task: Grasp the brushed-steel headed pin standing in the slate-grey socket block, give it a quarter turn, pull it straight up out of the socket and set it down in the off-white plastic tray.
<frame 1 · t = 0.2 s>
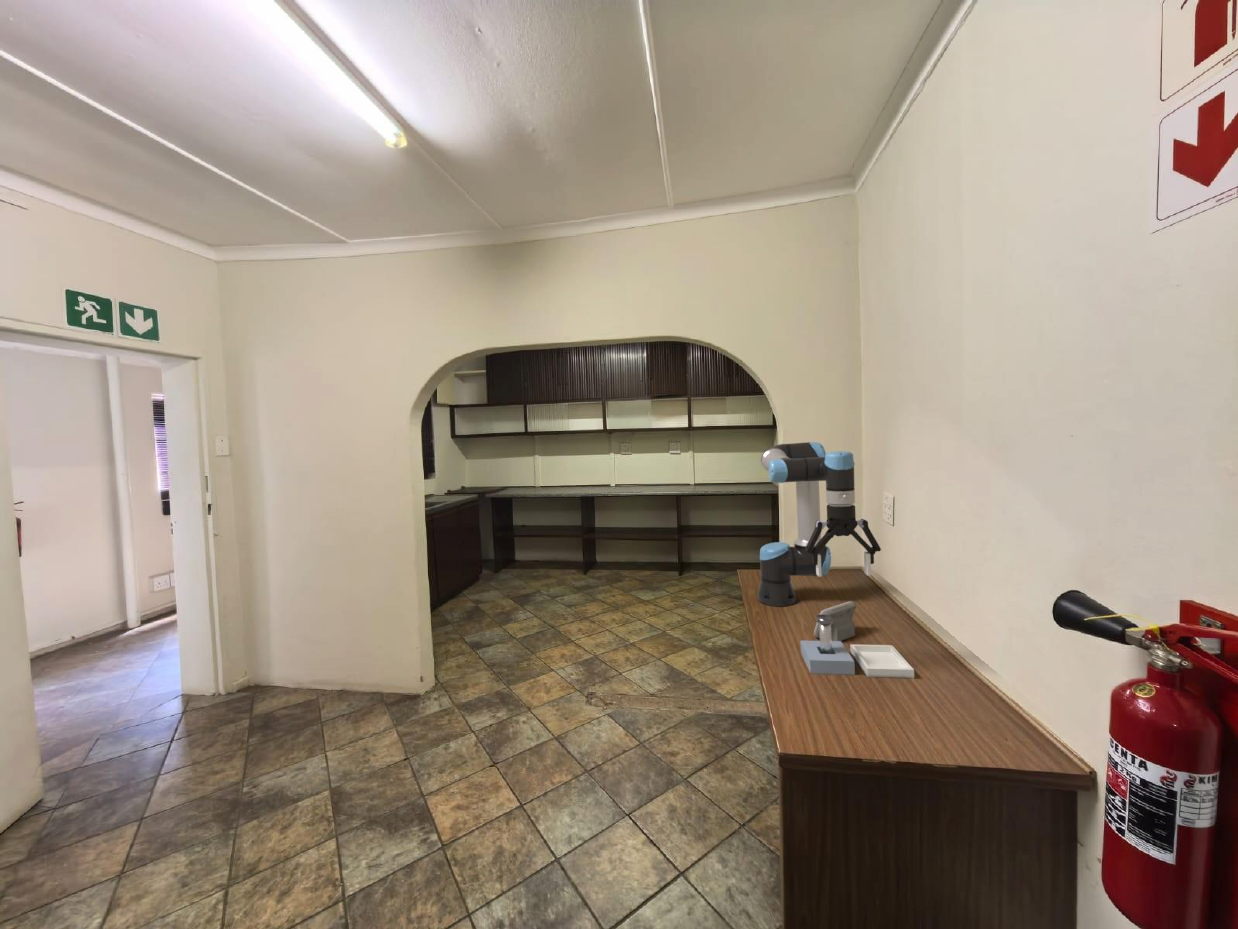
hand: (843, 575, 130), 27 cm above the table, fingers open, 13 cm apart
digital clock: (835, 635, 150), on the table
pin: (825, 640, 132), in the socket block
socket block: (826, 663, 133), on the table
tray: (880, 664, 130), on the table
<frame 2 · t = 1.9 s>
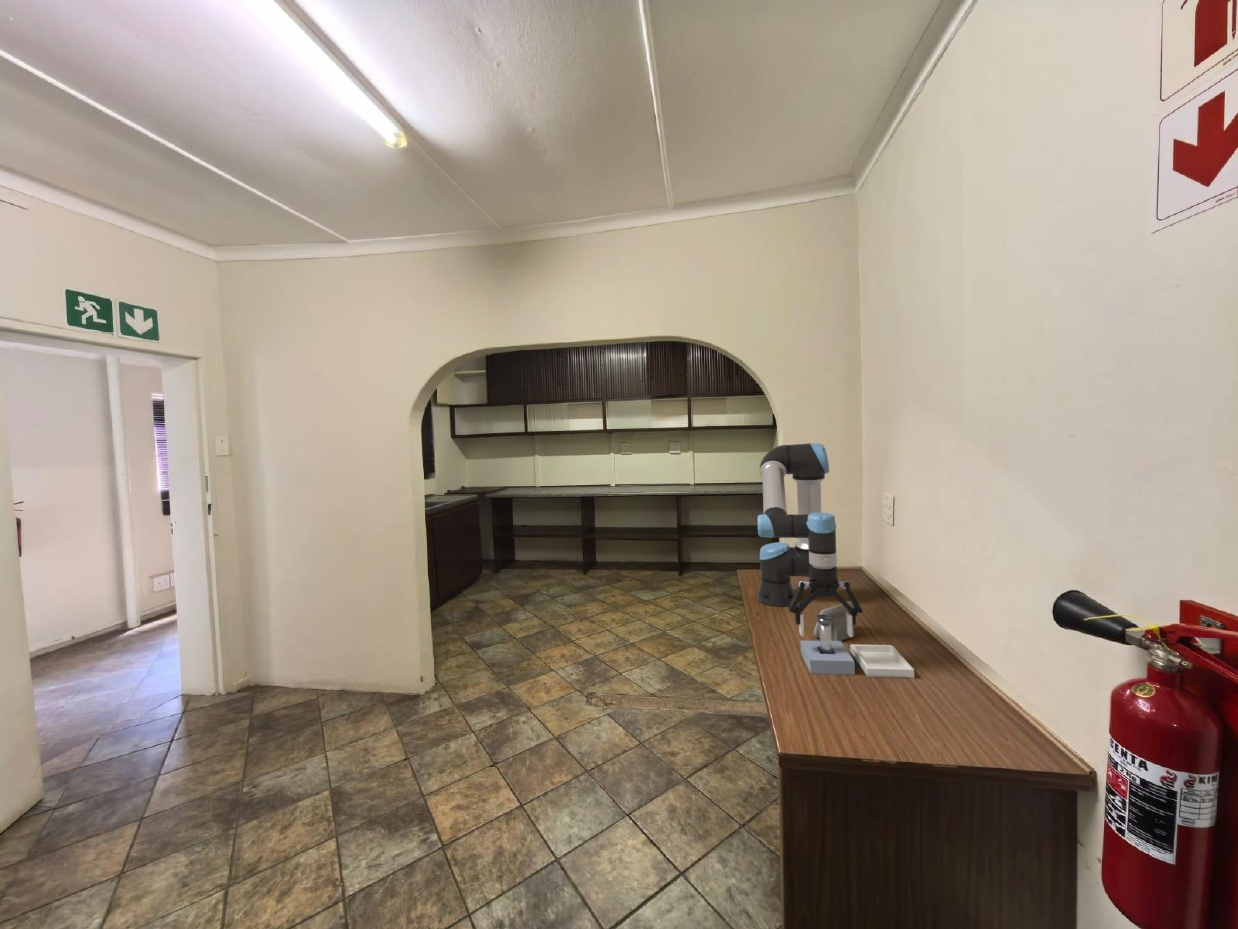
hand: (825, 634, 132), 9 cm above the table, fingers open, 13 cm apart
nothing on the table moved.
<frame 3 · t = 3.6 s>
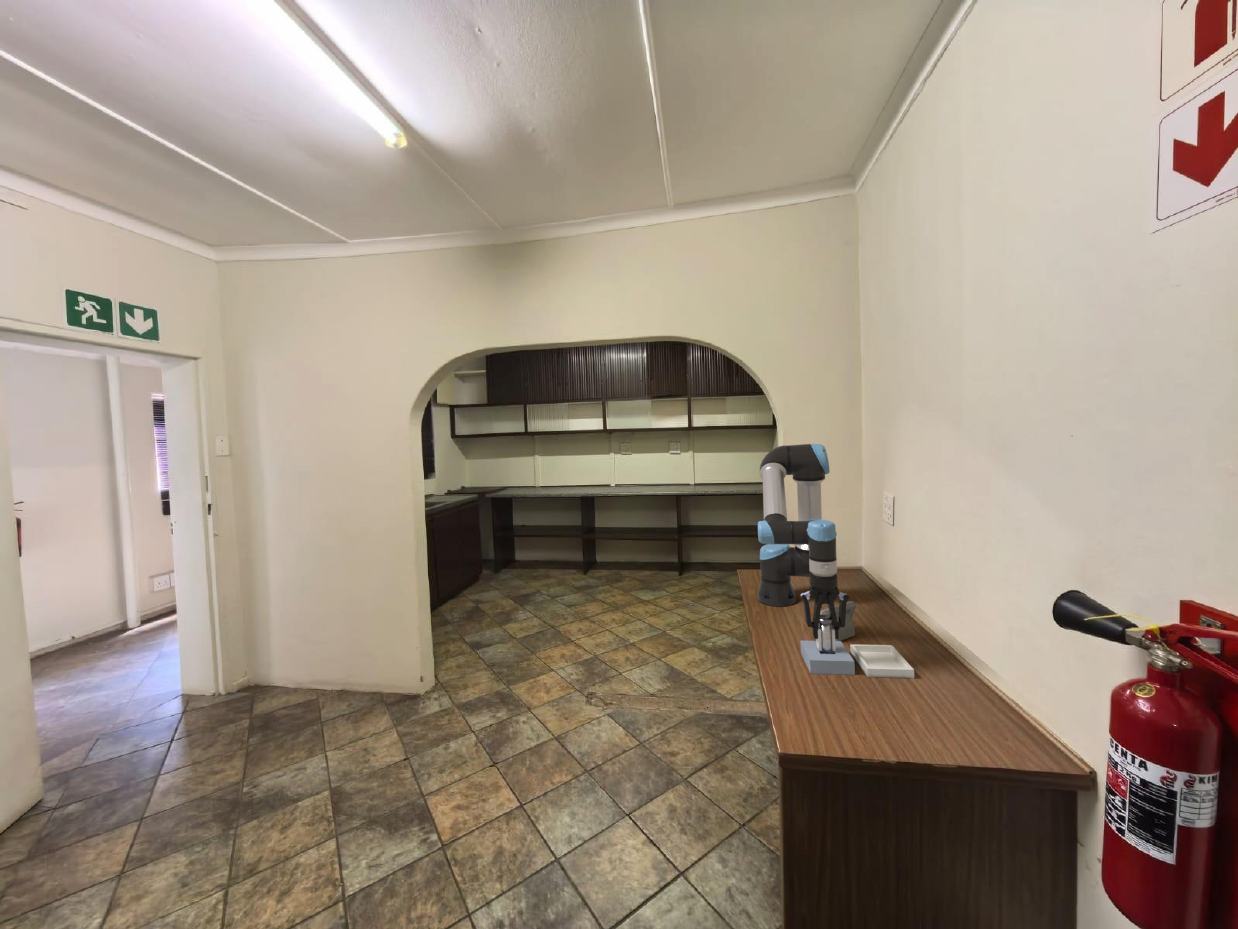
hand: (825, 648, 132), 5 cm above the table, fingers closed on pin, 3 cm apart
pin: (825, 640, 132), in the socket block, touching gripper
everything else where it was.
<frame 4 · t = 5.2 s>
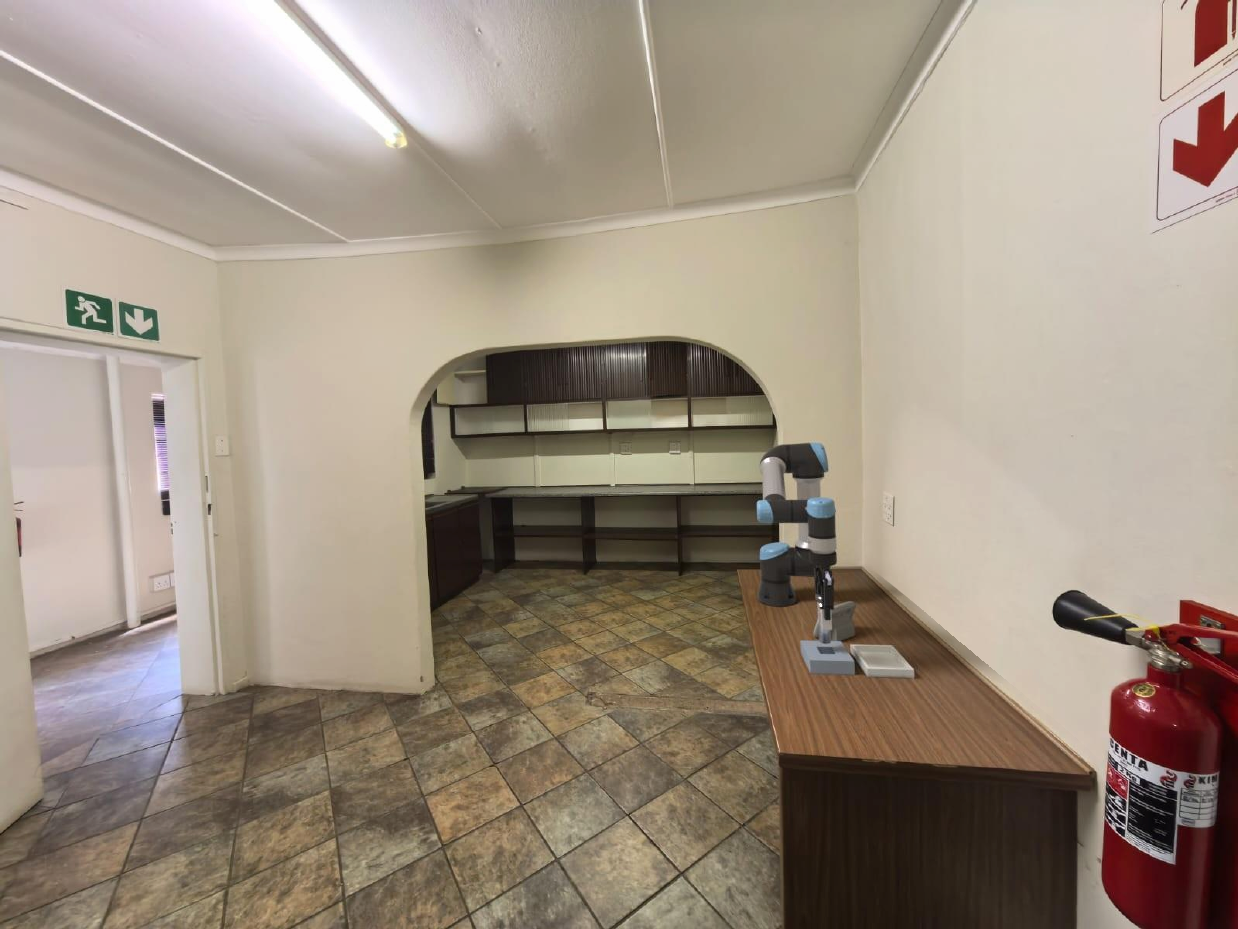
hand: (825, 626, 132), 11 cm above the table, fingers closed on pin, 3 cm apart
pin: (824, 618, 132), point 14 cm above the table, touching gripper
everything else where it was.
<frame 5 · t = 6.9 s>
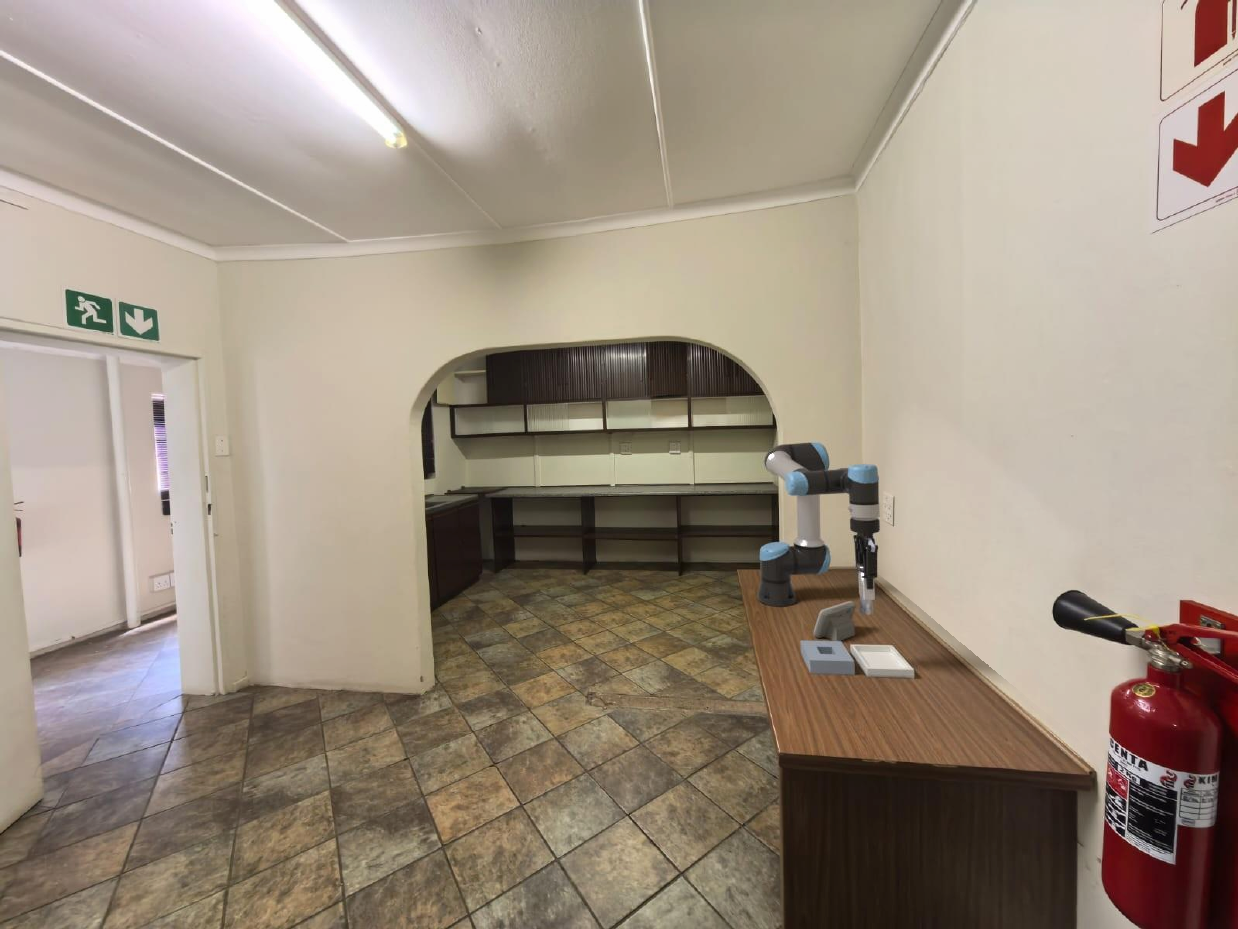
hand: (866, 596, 129), 21 cm above the table, fingers closed on pin, 3 cm apart
pin: (865, 589, 129), point 23 cm above the table, touching gripper
everything else where it was.
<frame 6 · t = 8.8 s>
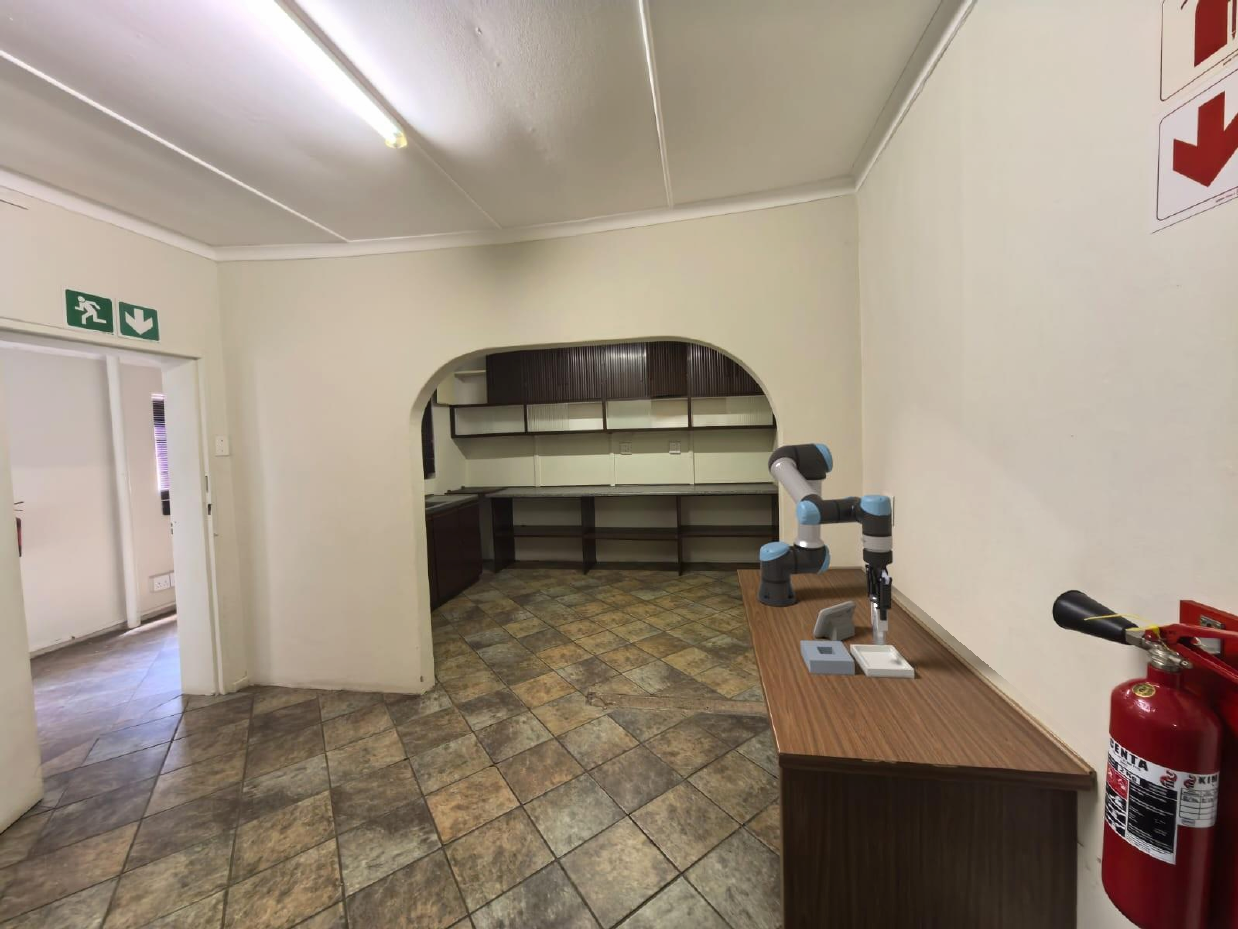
hand: (879, 626, 129), 12 cm above the table, fingers closed on pin, 3 cm apart
pin: (878, 619, 129), point 14 cm above the table, touching gripper
everything else where it was.
when the fingers open (6 cm above the table, at t = 10.4 s): pin stays where it is, resting on tray.
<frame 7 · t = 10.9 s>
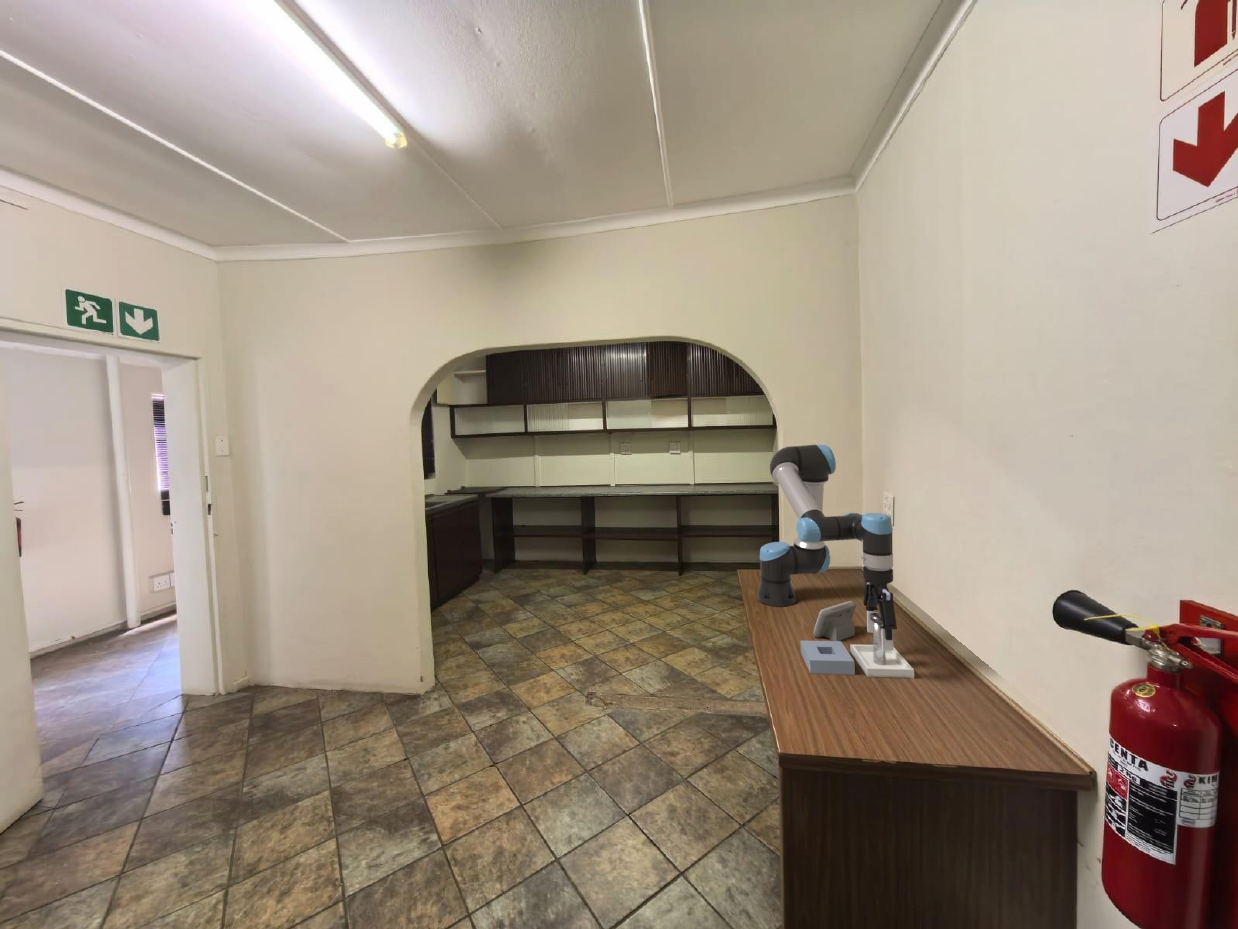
hand: (879, 640, 129), 7 cm above the table, fingers open, 10 cm apart
pin: (879, 639, 129), in the tray, point 8 cm above the table
everything else where it was.
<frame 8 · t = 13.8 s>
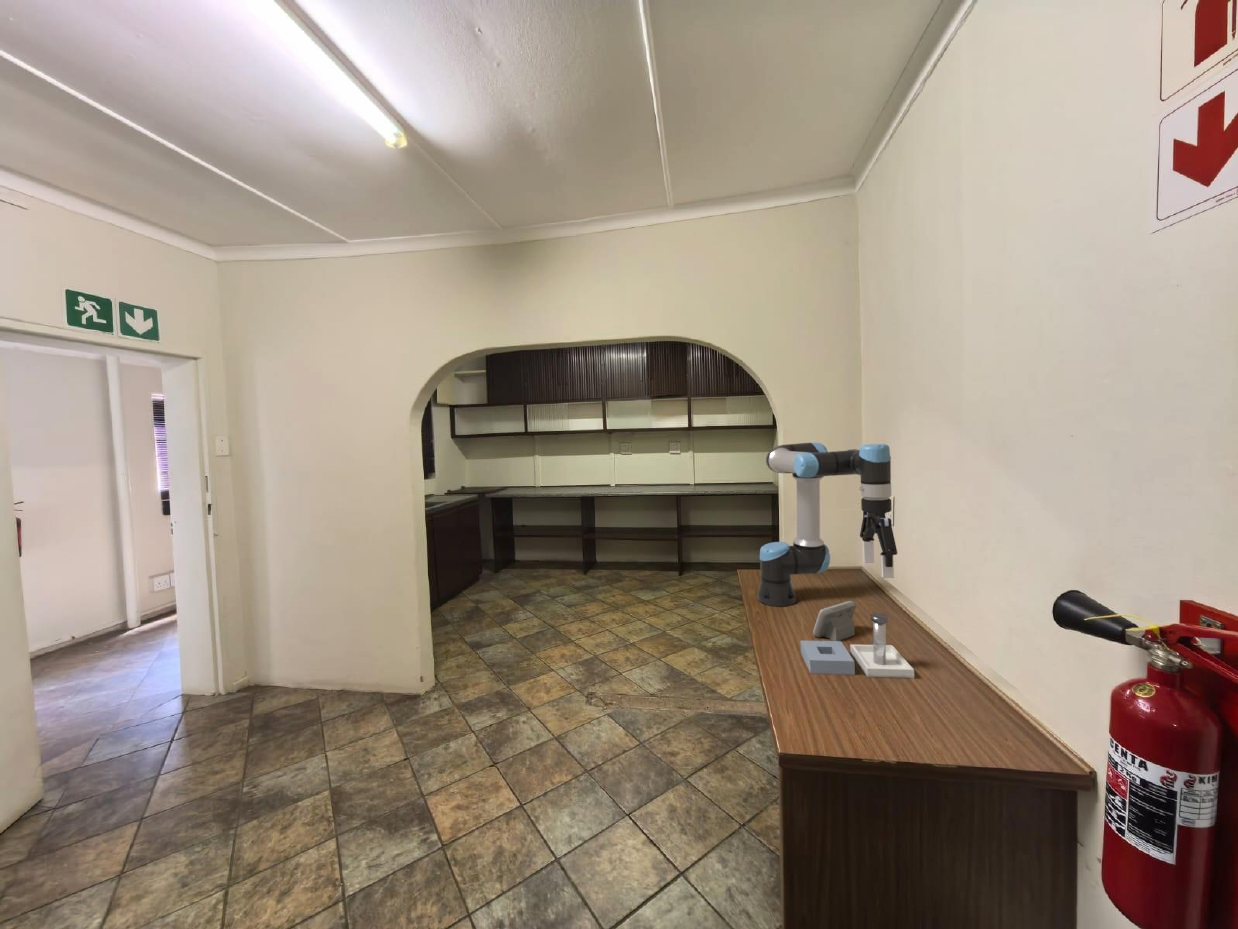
hand: (877, 569, 128), 29 cm above the table, fingers open, 13 cm apart
nothing on the table moved.
at the end: pin inside the target area on the tray (0.2 cm from its centre), point 7.7 cm above the tray's base; pin touching tray; the gripper is holding nothing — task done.
